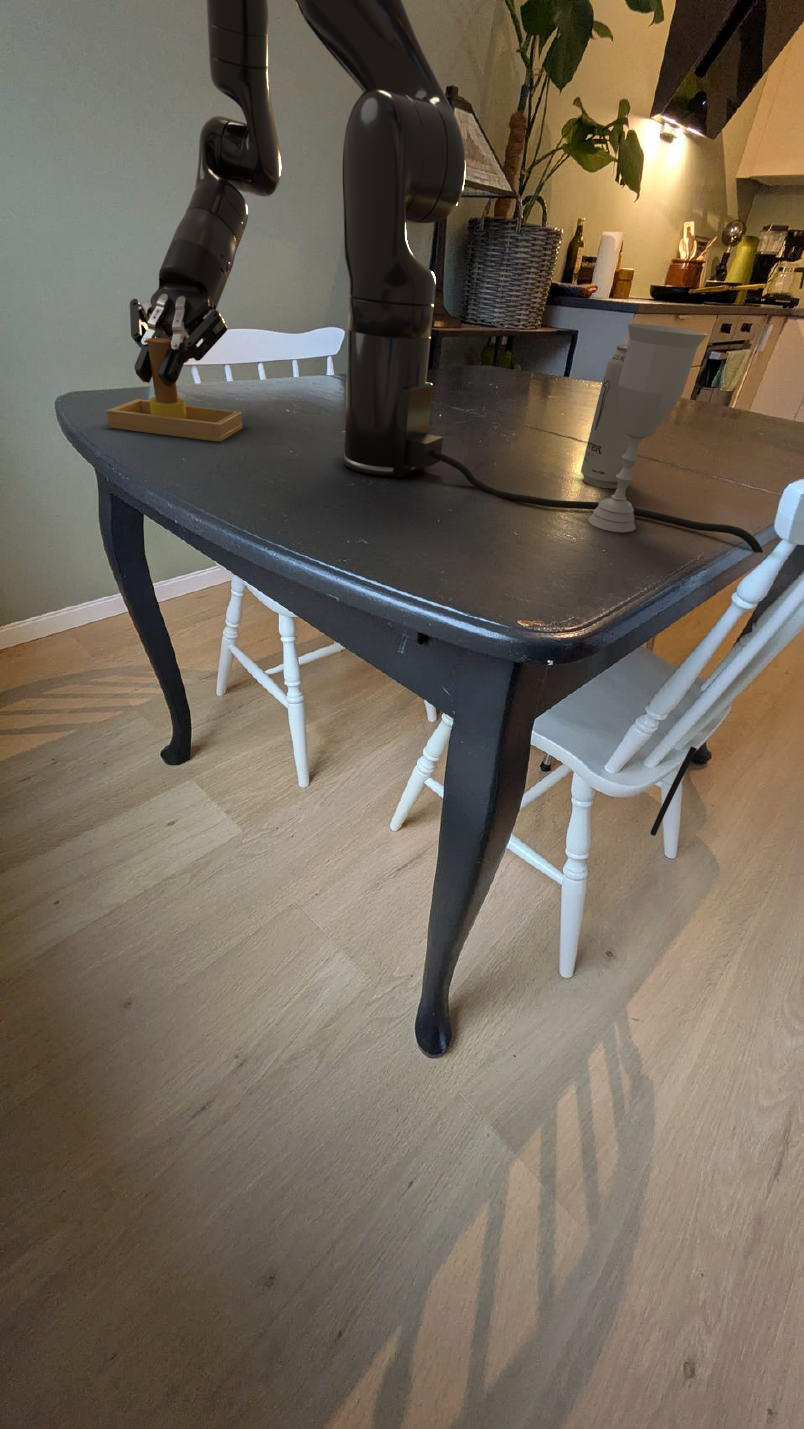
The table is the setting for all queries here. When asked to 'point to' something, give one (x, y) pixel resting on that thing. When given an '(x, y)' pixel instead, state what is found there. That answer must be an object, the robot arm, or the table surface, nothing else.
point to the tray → (176, 421)
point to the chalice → (646, 403)
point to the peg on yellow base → (164, 395)
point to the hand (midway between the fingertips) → (153, 379)
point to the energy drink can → (607, 430)
